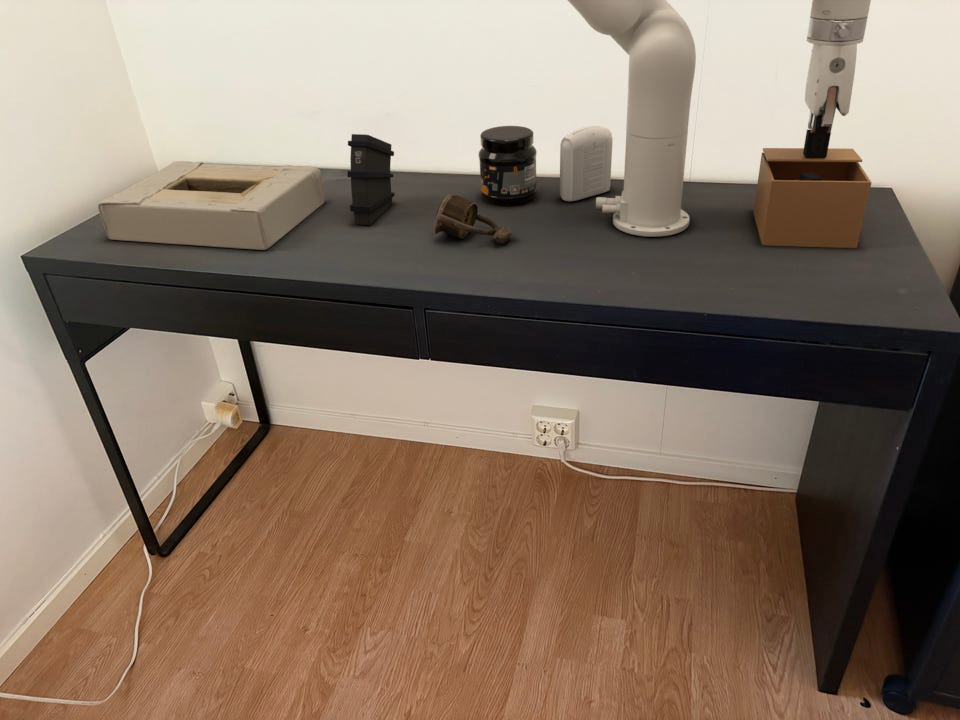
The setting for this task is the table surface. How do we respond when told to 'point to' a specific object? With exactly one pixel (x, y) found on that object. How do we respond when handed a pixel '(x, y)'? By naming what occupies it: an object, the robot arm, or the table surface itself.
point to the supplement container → (508, 165)
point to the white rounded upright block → (585, 163)
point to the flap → (798, 156)
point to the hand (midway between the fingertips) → (814, 156)
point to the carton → (810, 203)
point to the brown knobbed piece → (466, 220)
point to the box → (214, 205)
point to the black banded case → (370, 178)
